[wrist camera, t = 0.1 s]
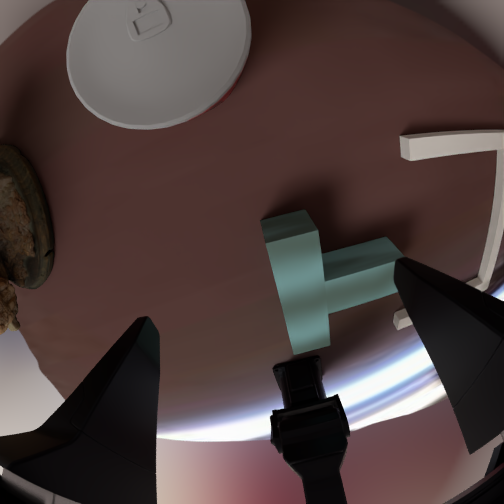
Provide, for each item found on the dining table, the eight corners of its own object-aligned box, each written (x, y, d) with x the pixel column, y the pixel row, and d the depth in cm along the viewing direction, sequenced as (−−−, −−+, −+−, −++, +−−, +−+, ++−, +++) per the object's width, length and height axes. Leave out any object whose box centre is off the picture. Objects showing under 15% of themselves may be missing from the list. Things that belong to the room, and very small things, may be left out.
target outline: (481, 283, 32) (487, 288, 30) (392, 322, 33) (397, 330, 31) (504, 129, 19) (513, 132, 18) (399, 135, 20) (408, 139, 19)
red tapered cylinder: (202, 5, 14) (180, -66, 4) (261, 78, 17) (296, 56, 8) (120, 64, 16) (37, 48, 6) (178, 134, 19) (132, 169, 10)
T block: (382, 300, 30) (396, 323, 27) (287, 328, 31) (293, 355, 28) (385, 190, 23) (408, 207, 19) (260, 220, 24) (265, 243, 20)
